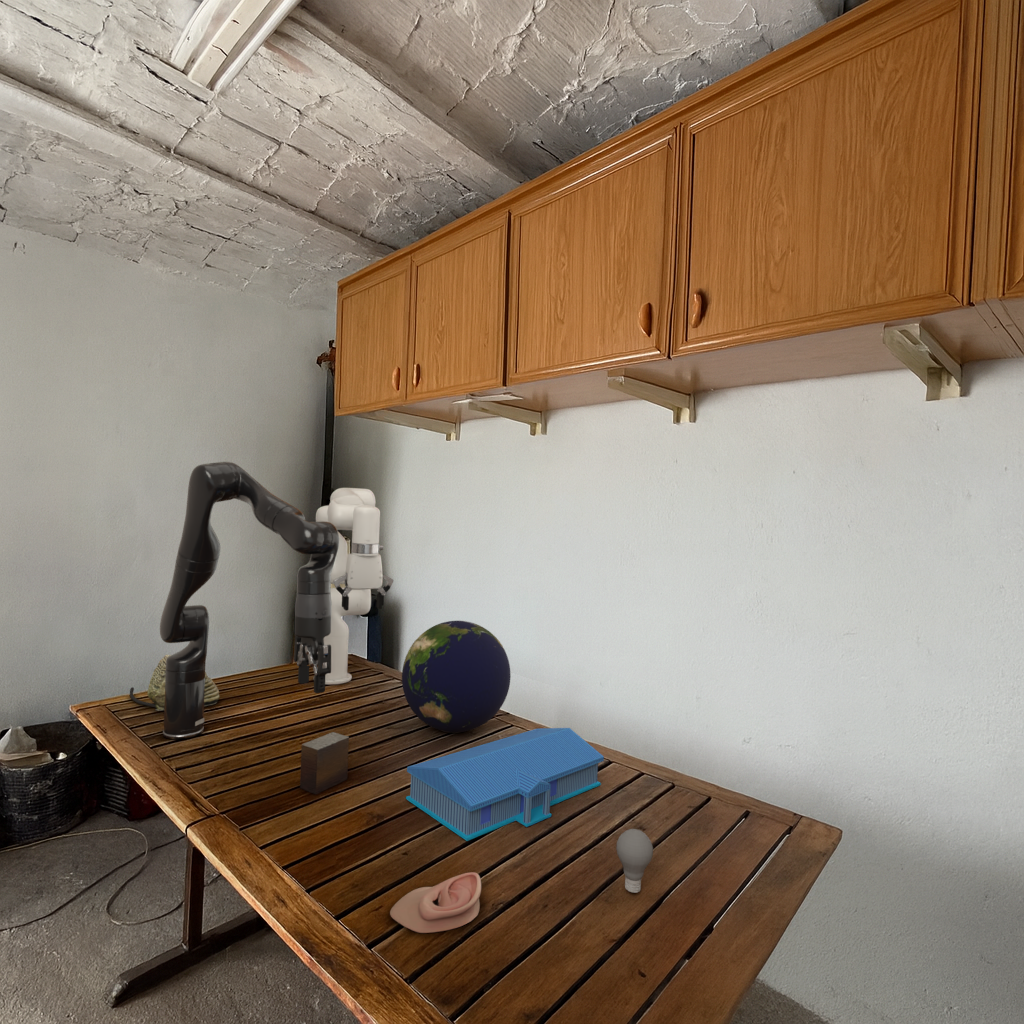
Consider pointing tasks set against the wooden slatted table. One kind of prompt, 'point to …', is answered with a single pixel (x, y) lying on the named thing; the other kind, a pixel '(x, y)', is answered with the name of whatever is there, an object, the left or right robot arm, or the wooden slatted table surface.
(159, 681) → the fossil
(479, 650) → the globe
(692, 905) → the wooden slatted table surface
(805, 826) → the wooden slatted table surface
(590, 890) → the wooden slatted table surface
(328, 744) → the block
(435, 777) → the model building
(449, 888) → the anatomical model
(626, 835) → the light bulb
